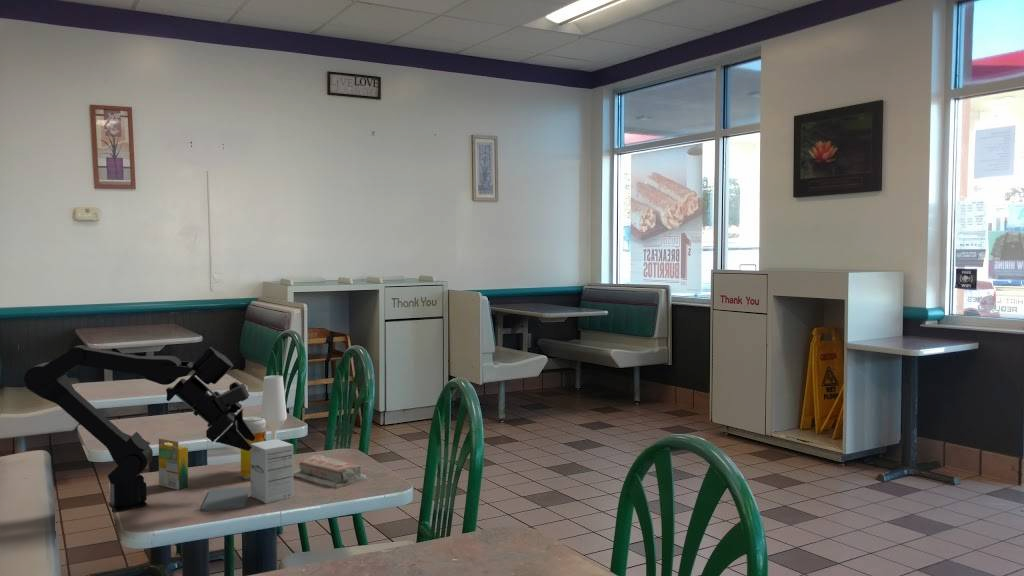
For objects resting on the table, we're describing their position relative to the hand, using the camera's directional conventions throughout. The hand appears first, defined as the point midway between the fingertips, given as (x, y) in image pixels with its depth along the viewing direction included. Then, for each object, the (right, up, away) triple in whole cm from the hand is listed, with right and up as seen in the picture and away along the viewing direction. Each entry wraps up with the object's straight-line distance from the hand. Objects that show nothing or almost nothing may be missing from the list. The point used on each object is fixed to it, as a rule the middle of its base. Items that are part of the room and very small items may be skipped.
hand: (252, 444), depth 183 cm
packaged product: (+13, -13, +18) cm, 26 cm away
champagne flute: (-3, -12, +27) cm, 30 cm away
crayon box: (-22, -12, +9) cm, 27 cm away
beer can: (-6, -12, +18) cm, 22 cm away
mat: (-6, -13, -1) cm, 14 cm away
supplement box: (+4, -13, +2) cm, 14 cm away
